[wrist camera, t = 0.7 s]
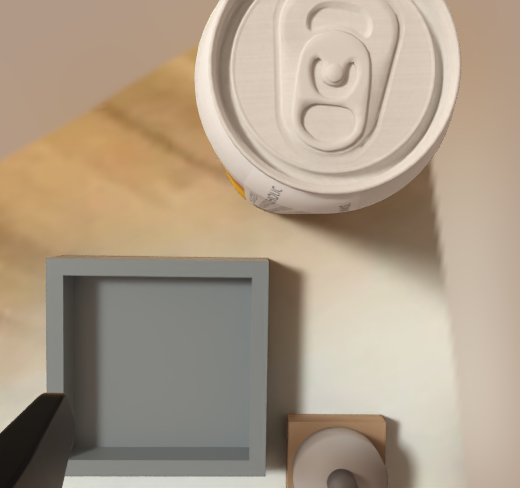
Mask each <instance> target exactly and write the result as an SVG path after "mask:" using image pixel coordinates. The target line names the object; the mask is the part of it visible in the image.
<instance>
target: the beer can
mask: <svg viewBox="0 0 520 488" xmlns="http://www.w3.org/2000/svg"><path fill="white" fill-rule="evenodd" d="M460 77H461V52H460V44H459V39H458V34H457V30H456V26H455V23H454V20H453V17H452V15H451V13H450V10H449V8H448V6H447V4H446V2H445V0H220V1H219V3H218V4H217V6H216V7H215V9H214V11H213V12H212V14H211V16H210V18H209V20H208V22H207V24H206V26H205V29H204V32H203V35H202V37H201V40H200V44H199V48H198V53H197V57H196V66H195V93H196V101H197V107H198V111H199V115H200V119H201V122H202V125H203V127H204V130H205V133H206V135H207V137H208V139H209V141H210V143H211V145H212V147H213V149H214V151H215V153H216V154H217V156H218V158H219V160H220V162H221V164H222V166H223V168H224V169H225V171H226V173H227V175H228V177H229V179H230V181H231V183H232V184H233V186H234V187H235V189H236V190H237V191H238V193H239V194H240V195H241V196H242V197H243V198H244V199H245V200H247V201H248V202H249V203H251V204H252V205H254V206H256V207H257V208H259V209H262V210H264V211H268V212H271V213H277V214H328V213H342V212H348V211H353V210H358V209H361V208H364V207H367V206H371V205H373V204H375V203H377V202H380V201H382V200H384V199H386V198H388V197H389V196H391V195H393V194H395V193H396V192H398V191H399V190H401V189H402V188H403V187H405V186H406V185H407V184H408V183H410V182H411V181H412V180H413V179H414V178H415V177H416V176H417V175H418V174H419V173H420V172H421V171H422V170H423V169H424V168H425V166H426V165H427V164H428V163H429V162H430V160H431V159H432V157H433V156H434V154H435V153H436V151H437V150H438V148H439V146H440V144H441V143H442V141H443V138H444V136H445V135H446V132H447V129H448V127H449V124H450V121H451V118H452V114H453V110H454V106H455V103H456V99H457V95H458V91H459V85H460Z"/></svg>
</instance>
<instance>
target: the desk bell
mask: <svg viewBox="0 0 520 488" xmlns="http://www.w3.org/2000/svg"><path fill="white" fill-rule="evenodd" d="M385 445H386V422H385V420H384V419H383V417H382V416H381V415H327V414H287V456H286V488H387V485H388V478H387V471H386V468H385Z"/></svg>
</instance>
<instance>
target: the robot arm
mask: <svg viewBox="0 0 520 488" xmlns="http://www.w3.org/2000/svg"><path fill="white" fill-rule="evenodd" d="M74 433H75V420H74V416H73V412H72V409H71V405H70V401H69V398H68V396H67V395H66V394H65V393H43V394H41V395H40V396H39V397H37V398H36V399H35V400H34V401H33V402H32V403H31V404H30V405H29V406H28V407H27V408H26V409H25V410H24V411H23V412H22V413H21V414H20V415H19V416H18V417H17V418H16V419H15V420H14V421H12V422H11V423H10V424H9V425H8V426H7V427H6V428H5V429H4V430H3V431H2V432H1V433H0V488H62V485H63V481H64V477H65V472H66V468H67V464H68V459H69V455H70V451H71V447H72V442H73V438H74Z"/></svg>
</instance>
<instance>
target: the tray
mask: <svg viewBox="0 0 520 488" xmlns="http://www.w3.org/2000/svg"><path fill="white" fill-rule="evenodd" d="M268 289H269V260H268V259H267V258H222V257H147V256H73V255H61V256H56V257H51V258H46V360H47V393H65V394H66V395H67V396H68V398H69V401H70V405H71V409H72V412H73V416H74V420H75V433H74V438H73V442H72V447H71V451H70V455H69V459H68V464H67V468H66V472H65V476H265V472H266V411H267V350H268Z"/></svg>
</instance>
